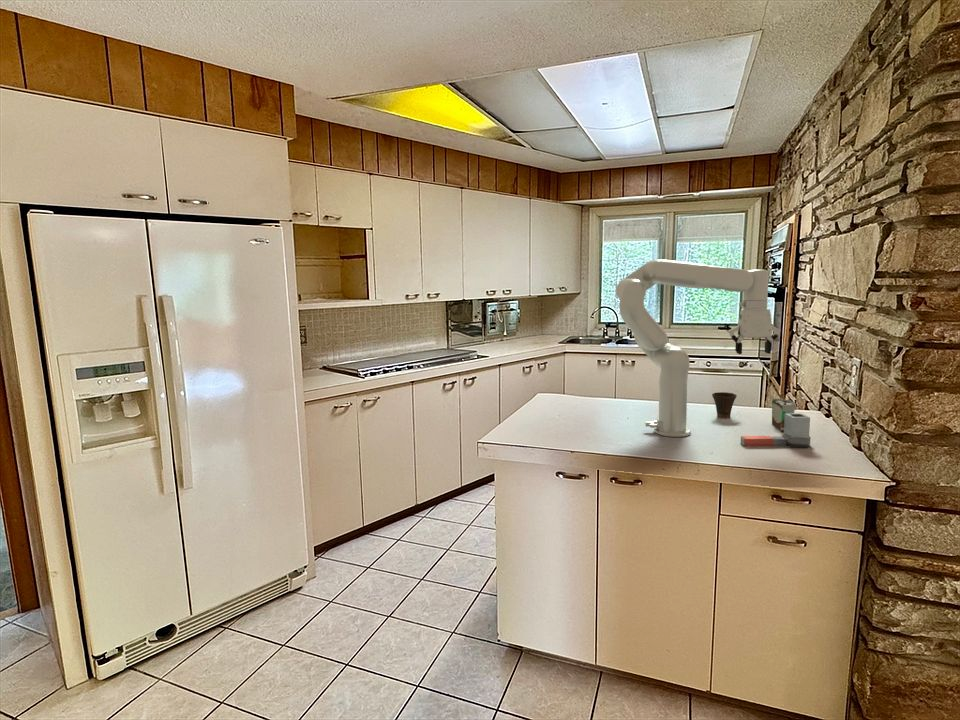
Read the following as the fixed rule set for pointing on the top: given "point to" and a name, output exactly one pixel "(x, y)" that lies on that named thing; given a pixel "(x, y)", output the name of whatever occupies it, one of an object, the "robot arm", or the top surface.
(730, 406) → the cup
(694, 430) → the top surface
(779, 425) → the food container
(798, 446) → the ratchet
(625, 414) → the top surface
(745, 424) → the top surface
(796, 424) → the square aluminium tube
